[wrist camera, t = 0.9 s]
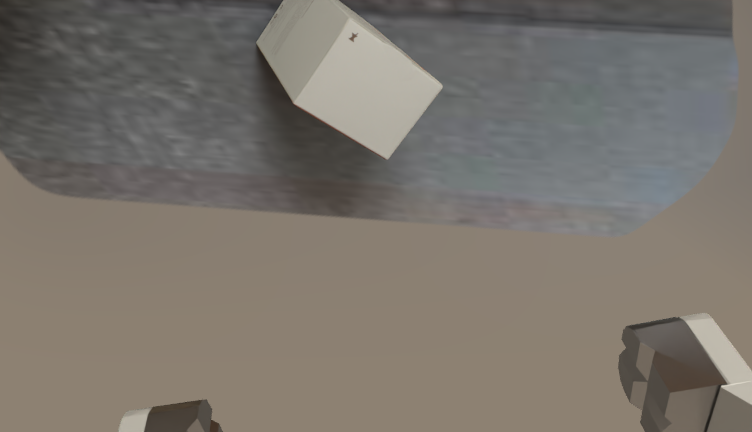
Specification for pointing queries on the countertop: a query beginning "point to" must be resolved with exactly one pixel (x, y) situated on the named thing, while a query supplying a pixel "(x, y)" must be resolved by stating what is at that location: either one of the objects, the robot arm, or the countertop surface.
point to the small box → (346, 73)
